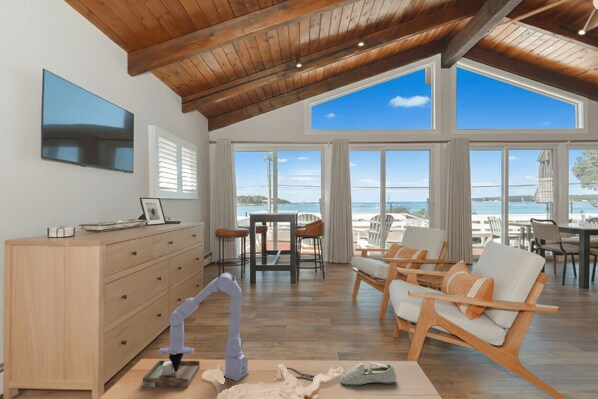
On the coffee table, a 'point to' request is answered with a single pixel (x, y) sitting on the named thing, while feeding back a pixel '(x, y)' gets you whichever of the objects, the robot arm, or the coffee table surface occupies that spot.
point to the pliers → (303, 375)
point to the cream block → (167, 368)
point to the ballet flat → (368, 375)
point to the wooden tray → (176, 379)
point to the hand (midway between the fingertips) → (176, 370)
